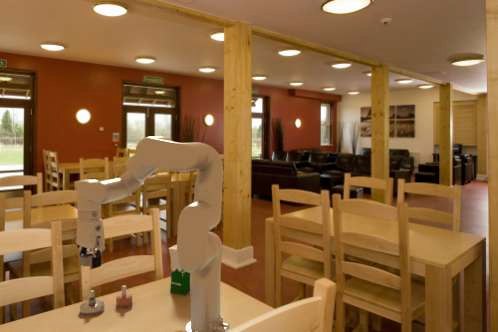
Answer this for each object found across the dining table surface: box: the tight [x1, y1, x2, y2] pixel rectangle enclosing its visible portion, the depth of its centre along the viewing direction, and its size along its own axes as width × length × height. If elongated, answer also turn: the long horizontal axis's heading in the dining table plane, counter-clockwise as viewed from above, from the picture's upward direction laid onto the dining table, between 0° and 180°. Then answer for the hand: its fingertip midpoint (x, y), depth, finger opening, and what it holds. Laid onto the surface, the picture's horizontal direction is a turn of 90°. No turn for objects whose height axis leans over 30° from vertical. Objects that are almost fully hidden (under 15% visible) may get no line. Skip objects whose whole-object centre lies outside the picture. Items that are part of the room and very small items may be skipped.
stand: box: [115, 285, 133, 309], centre depth 136 cm, size 6×6×7 cm
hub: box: [79, 289, 105, 317], centre depth 132 cm, size 8×8×7 cm
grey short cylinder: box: [79, 251, 93, 267], centre depth 131 cm, size 6×6×3 cm
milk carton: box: [167, 244, 190, 296], centre depth 148 cm, size 9×9×20 cm
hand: (90, 264), depth 131 cm, fingers closed on grey short cylinder, 6 cm apart
